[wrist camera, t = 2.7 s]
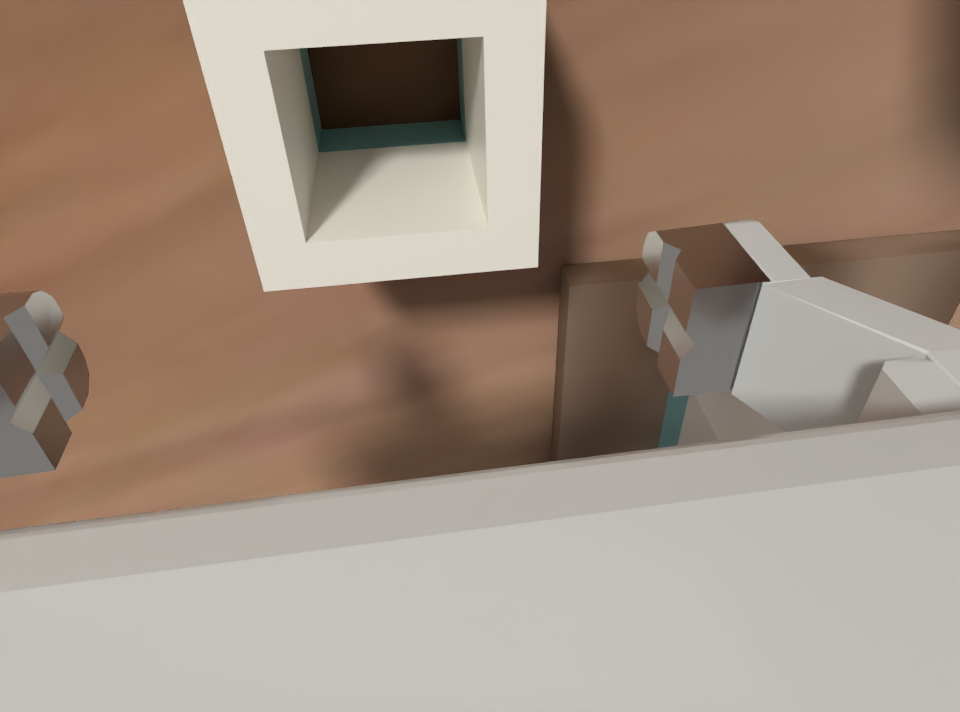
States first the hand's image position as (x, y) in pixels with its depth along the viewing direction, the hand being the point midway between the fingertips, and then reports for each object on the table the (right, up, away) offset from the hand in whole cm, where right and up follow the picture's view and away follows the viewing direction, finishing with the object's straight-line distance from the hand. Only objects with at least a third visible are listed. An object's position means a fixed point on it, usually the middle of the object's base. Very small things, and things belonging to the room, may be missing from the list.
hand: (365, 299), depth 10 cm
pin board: (+12, -7, +22) cm, 26 cm away
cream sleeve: (-1, +7, +8) cm, 11 cm away
